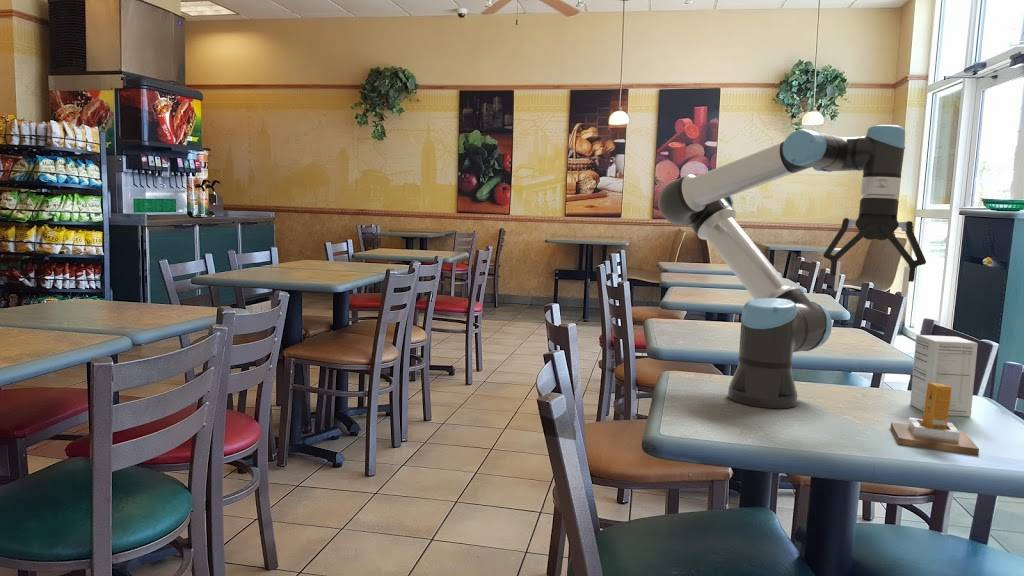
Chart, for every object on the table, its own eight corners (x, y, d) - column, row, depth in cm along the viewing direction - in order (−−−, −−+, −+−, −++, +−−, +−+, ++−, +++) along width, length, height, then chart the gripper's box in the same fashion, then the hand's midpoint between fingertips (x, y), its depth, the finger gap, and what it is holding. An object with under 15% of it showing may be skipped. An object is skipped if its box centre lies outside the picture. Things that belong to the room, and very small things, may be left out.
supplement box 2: (947, 438, 135) (953, 386, 134) (929, 437, 135) (935, 386, 134) (938, 432, 138) (943, 382, 137) (920, 431, 138) (925, 382, 138)
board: (898, 444, 134) (899, 437, 134) (890, 427, 145) (891, 422, 145) (978, 455, 129) (979, 448, 129) (963, 437, 140) (964, 431, 140)
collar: (913, 436, 135) (914, 426, 135) (908, 427, 142) (909, 417, 141) (958, 443, 132) (959, 432, 132) (950, 432, 139) (951, 422, 139)
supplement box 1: (950, 406, 166) (958, 336, 164) (972, 417, 157) (980, 342, 155) (908, 404, 167) (915, 333, 165) (927, 414, 157) (934, 340, 156)
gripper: (817, 194, 156) (808, 289, 158) (948, 199, 146) (936, 300, 149) (818, 196, 163) (809, 287, 165) (942, 200, 153) (931, 297, 155)
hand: (869, 293), depth 157 cm, fingers open, 13 cm apart
